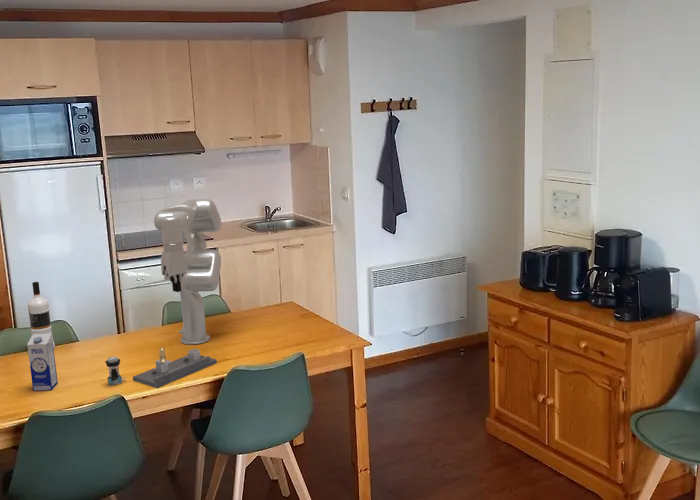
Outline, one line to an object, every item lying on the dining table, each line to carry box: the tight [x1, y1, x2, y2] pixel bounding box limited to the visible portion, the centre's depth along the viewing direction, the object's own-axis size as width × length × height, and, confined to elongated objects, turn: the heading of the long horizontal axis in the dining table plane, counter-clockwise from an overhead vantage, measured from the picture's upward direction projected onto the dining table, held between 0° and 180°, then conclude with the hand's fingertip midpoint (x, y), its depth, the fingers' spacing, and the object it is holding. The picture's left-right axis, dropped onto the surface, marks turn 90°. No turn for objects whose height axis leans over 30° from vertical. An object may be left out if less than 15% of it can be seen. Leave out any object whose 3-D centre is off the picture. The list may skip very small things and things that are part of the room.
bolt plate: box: [132, 348, 218, 389], centre depth 291 cm, size 14×30×6 cm, turn 144°
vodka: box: [26, 281, 56, 349], centre depth 319 cm, size 9×9×30 cm
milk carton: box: [26, 333, 59, 392], centre depth 278 cm, size 7×7×20 cm
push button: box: [104, 356, 127, 386], centre depth 281 cm, size 7×5×10 cm
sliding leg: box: [151, 347, 172, 376], centre depth 283 cm, size 9×3×11 cm, turn 54°
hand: (177, 291), depth 300 cm, fingers closed
